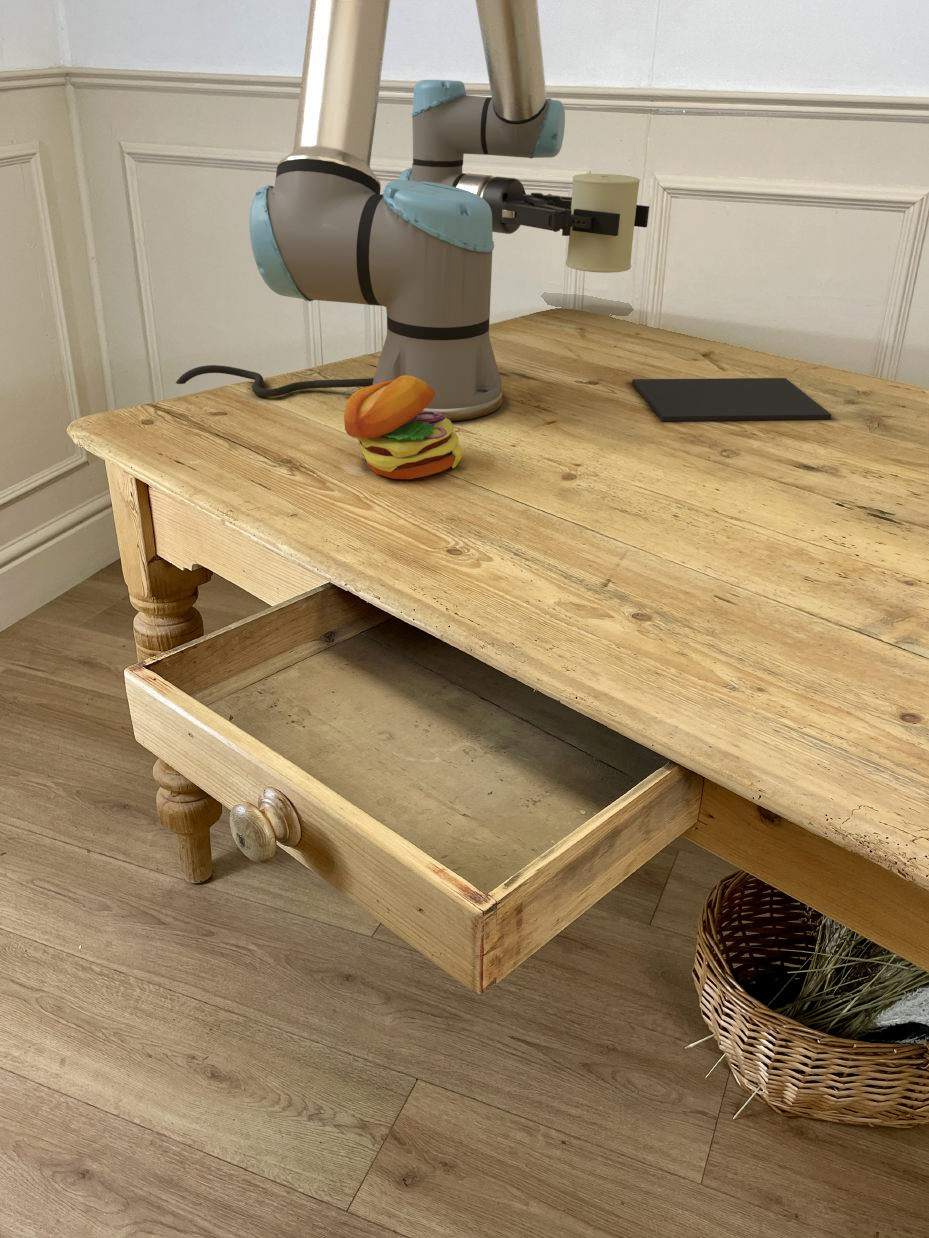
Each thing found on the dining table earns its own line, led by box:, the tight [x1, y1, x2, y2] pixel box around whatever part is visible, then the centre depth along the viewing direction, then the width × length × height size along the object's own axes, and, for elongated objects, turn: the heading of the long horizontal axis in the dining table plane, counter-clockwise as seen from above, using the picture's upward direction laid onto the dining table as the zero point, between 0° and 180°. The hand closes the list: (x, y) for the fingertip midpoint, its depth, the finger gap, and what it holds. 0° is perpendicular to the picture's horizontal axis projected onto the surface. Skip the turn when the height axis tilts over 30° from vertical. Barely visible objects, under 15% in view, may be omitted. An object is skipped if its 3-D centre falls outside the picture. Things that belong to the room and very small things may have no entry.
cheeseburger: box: [343, 375, 463, 480], centre depth 98 cm, size 10×11×10 cm
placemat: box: [631, 377, 832, 422], centre depth 120 cm, size 20×14×1 cm
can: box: [565, 173, 641, 274], centre depth 138 cm, size 9×9×12 cm
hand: (632, 221), depth 135 cm, fingers closed on can, 9 cm apart
